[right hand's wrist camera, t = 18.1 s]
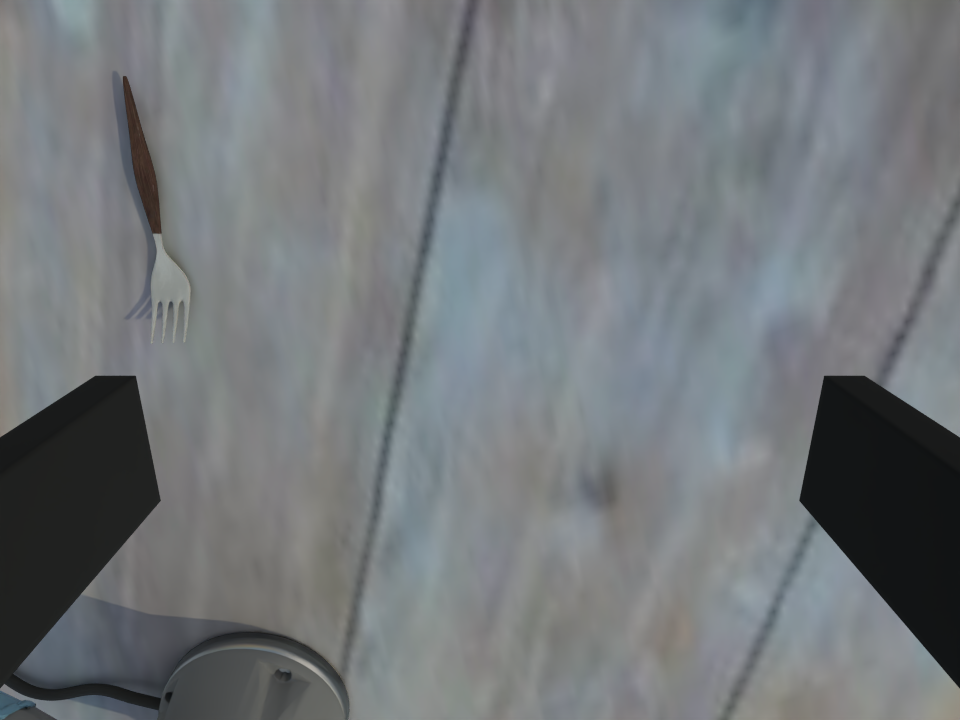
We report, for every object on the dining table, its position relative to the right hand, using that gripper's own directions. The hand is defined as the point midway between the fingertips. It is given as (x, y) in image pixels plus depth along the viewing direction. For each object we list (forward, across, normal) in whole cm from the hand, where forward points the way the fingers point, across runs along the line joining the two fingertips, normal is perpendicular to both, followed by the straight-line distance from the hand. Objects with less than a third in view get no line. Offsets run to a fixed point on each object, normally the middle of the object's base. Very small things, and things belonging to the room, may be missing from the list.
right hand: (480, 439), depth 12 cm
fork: (+30, +20, 0) cm, 36 cm away
